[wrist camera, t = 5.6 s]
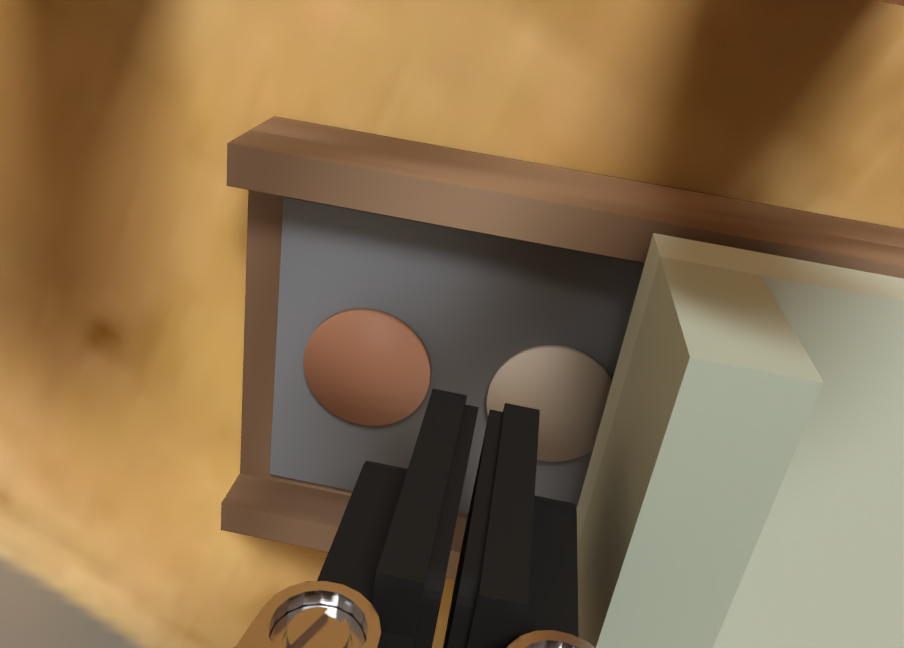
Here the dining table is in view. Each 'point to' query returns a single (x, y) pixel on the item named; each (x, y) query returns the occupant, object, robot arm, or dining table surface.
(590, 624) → the lid
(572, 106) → the dining table surface
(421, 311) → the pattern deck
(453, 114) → the dining table surface
